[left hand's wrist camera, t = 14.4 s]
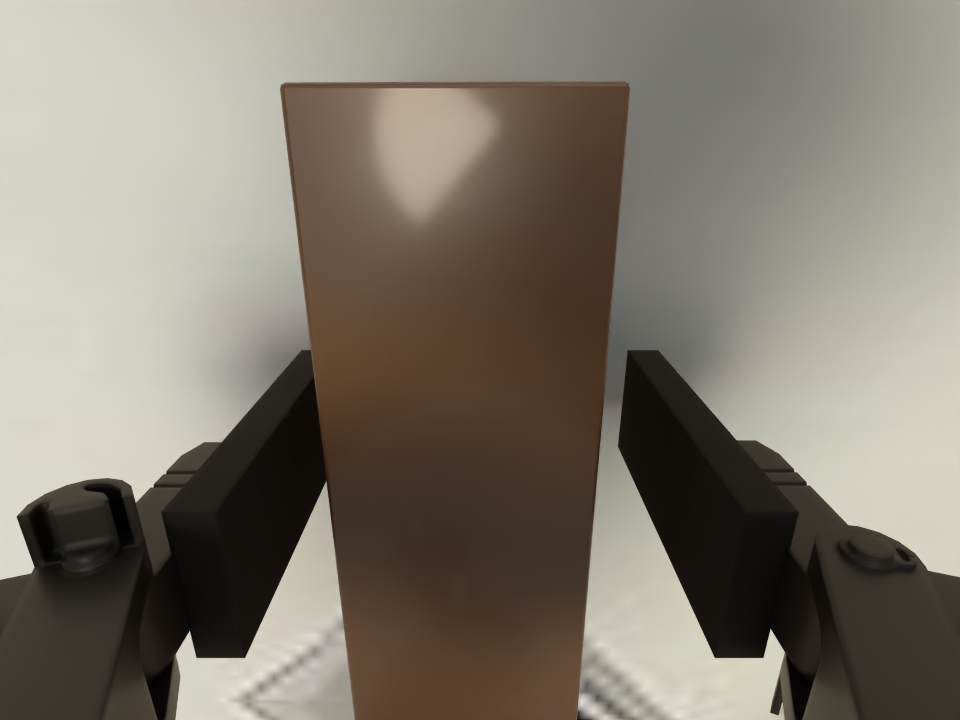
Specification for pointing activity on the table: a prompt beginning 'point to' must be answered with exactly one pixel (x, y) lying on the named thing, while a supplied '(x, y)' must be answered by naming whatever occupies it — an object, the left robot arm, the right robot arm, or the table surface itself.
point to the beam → (460, 377)
